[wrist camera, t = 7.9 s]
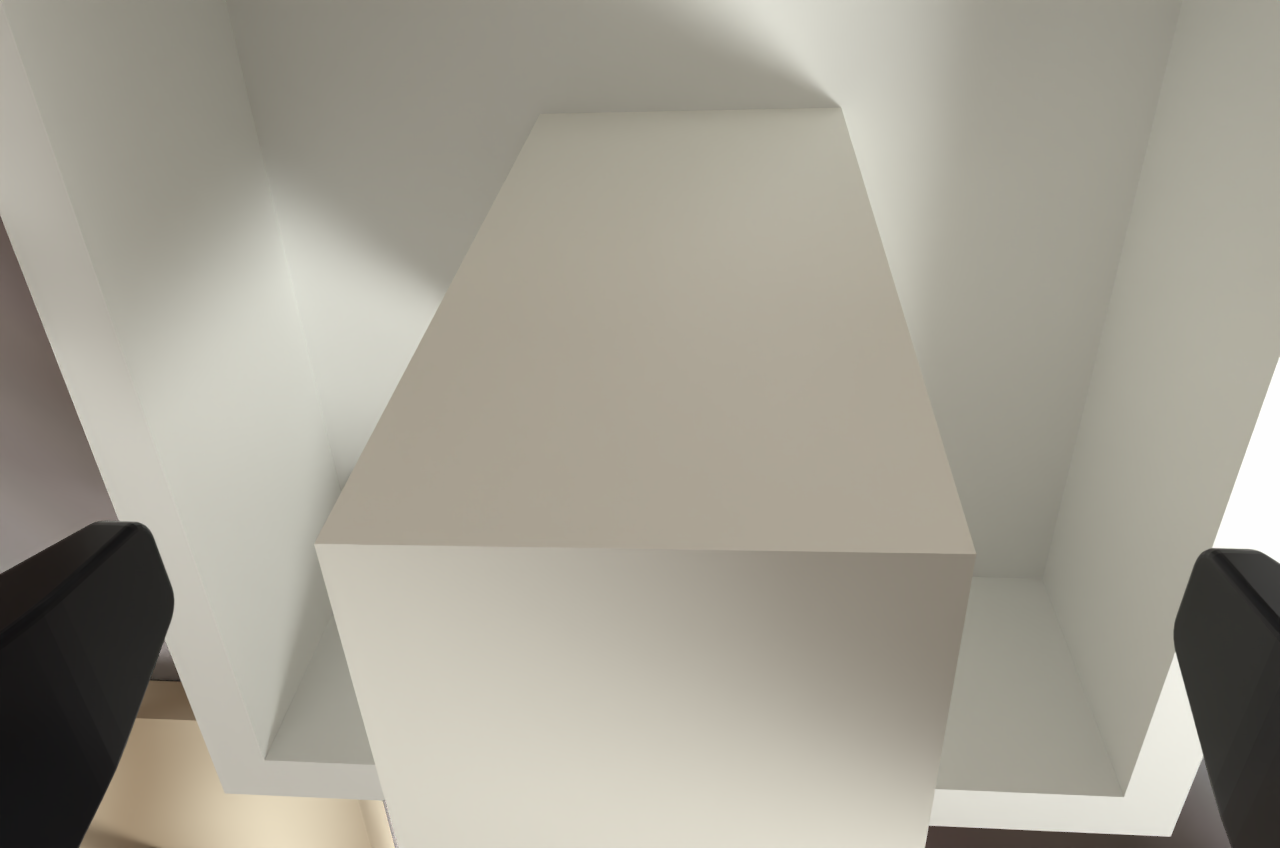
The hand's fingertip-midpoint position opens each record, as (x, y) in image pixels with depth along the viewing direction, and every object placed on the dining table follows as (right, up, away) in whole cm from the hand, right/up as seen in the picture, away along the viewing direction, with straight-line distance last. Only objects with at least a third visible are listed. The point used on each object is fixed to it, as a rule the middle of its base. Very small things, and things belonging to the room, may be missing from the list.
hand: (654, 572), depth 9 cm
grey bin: (+1, +4, +6) cm, 8 cm away
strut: (+1, +4, +6) cm, 7 cm away
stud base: (-11, -8, +16) cm, 21 cm away
